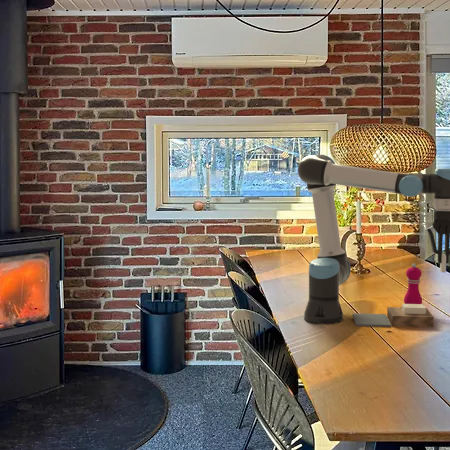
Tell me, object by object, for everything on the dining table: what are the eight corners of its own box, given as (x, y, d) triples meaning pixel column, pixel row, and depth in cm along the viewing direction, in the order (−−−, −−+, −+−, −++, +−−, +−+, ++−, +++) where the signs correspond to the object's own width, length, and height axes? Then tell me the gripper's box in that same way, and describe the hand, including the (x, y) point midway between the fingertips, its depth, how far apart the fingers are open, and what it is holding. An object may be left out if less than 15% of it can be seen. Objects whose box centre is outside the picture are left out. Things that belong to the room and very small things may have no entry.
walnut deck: (392, 326, 225) (392, 315, 225) (387, 316, 238) (387, 307, 238) (433, 327, 223) (433, 316, 223) (426, 317, 236) (426, 307, 236)
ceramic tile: (404, 313, 228) (404, 307, 228) (401, 309, 233) (401, 303, 233) (425, 314, 227) (426, 307, 227) (422, 310, 232) (423, 304, 232)
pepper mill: (424, 313, 242) (425, 265, 240) (406, 313, 242) (407, 265, 240) (418, 309, 249) (420, 261, 247) (401, 309, 250) (402, 261, 247)
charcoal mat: (355, 326, 226) (355, 323, 226) (352, 315, 241) (352, 313, 241) (391, 326, 224) (391, 324, 224) (385, 316, 239) (385, 314, 239)
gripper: (428, 210, 221) (427, 273, 224) (465, 210, 219) (463, 273, 222) (424, 208, 228) (423, 269, 231) (460, 208, 227) (458, 269, 230)
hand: (442, 271), depth 227 cm, fingers closed
